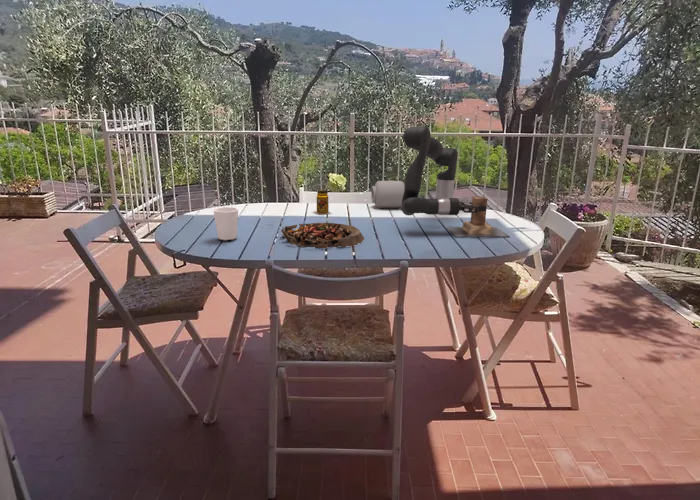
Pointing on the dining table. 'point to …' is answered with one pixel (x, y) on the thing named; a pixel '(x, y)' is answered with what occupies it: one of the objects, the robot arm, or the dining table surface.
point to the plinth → (476, 231)
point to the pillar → (479, 217)
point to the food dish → (322, 235)
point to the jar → (387, 194)
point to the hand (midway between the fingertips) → (482, 206)
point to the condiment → (322, 202)
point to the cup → (226, 223)
